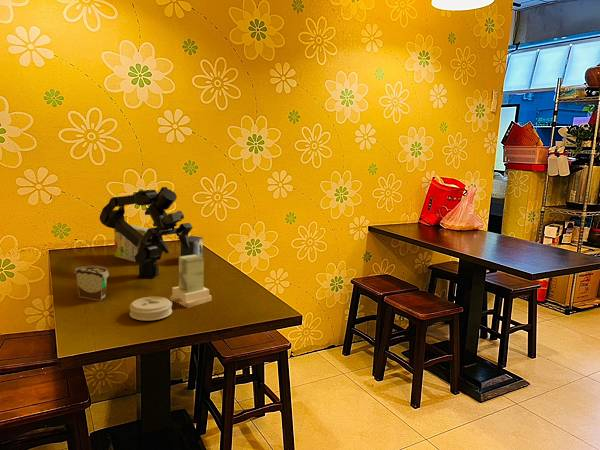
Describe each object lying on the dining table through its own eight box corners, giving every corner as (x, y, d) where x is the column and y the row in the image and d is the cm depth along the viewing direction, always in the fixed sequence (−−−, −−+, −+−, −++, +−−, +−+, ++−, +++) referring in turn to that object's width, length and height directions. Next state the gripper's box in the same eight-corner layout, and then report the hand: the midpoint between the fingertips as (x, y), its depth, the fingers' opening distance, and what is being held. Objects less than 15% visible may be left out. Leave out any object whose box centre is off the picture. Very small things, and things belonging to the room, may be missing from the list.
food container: (117, 296, 157) (116, 268, 155) (104, 301, 151) (103, 272, 149) (89, 291, 161) (88, 263, 159) (75, 296, 155) (74, 268, 153)
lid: (177, 318, 140) (177, 303, 140) (135, 326, 134) (134, 310, 133) (165, 305, 151) (165, 291, 150) (125, 312, 144) (125, 297, 143)
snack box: (155, 262, 200) (154, 229, 197) (144, 265, 195) (144, 230, 193) (124, 254, 211) (123, 222, 208) (113, 256, 207) (112, 224, 204)
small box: (193, 264, 199) (193, 241, 197) (179, 263, 201) (179, 240, 199) (203, 258, 210) (203, 236, 208) (190, 257, 211) (190, 235, 209)
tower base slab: (169, 302, 156) (169, 295, 155) (193, 295, 163) (193, 288, 163) (187, 310, 149) (187, 303, 149) (211, 302, 157) (211, 295, 157)
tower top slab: (172, 294, 156) (172, 287, 155) (195, 289, 162) (195, 282, 162) (185, 302, 150) (185, 294, 149) (209, 296, 156) (209, 289, 155)
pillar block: (178, 288, 155) (178, 256, 153) (194, 284, 159) (194, 254, 157) (187, 292, 151) (187, 260, 149) (203, 289, 155) (203, 258, 153)
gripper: (146, 206, 160) (166, 242, 156) (189, 202, 175) (208, 234, 170) (134, 225, 167) (153, 260, 162) (176, 219, 181) (194, 251, 177)
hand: (178, 250), depth 168 cm, fingers open, 9 cm apart
